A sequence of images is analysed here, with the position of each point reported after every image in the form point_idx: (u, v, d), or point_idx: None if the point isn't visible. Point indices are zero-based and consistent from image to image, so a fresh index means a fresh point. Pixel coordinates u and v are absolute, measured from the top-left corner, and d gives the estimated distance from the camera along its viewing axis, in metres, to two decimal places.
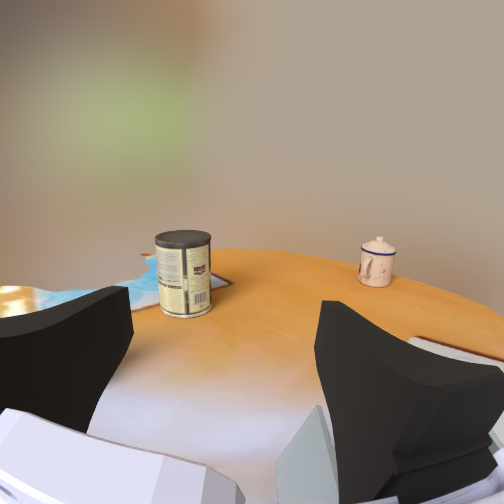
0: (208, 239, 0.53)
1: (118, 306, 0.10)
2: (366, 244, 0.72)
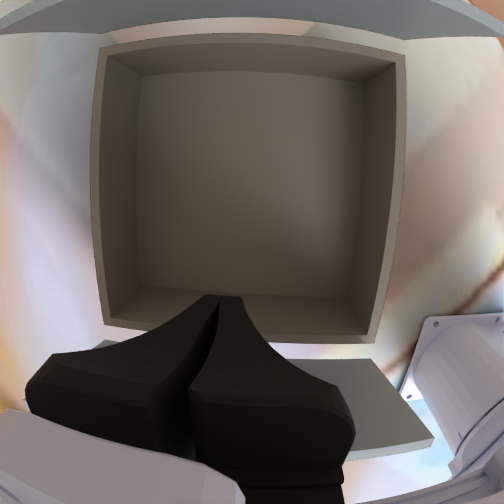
0: None
1: (219, 316, 0.10)
2: None
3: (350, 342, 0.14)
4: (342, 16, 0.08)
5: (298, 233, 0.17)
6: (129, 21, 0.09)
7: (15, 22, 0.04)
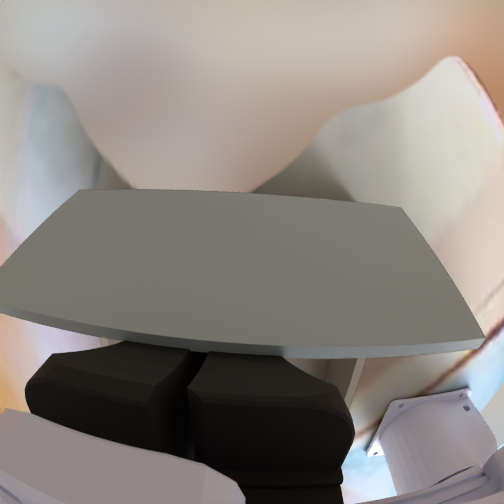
0: None
1: None
2: None
3: None
4: None
5: None
6: None
7: (3, 313, 0.06)
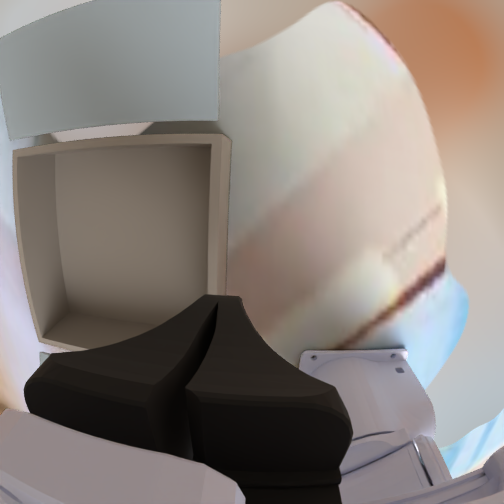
0: None
1: None
2: None
3: None
4: (147, 81, 0.12)
5: (170, 279, 0.21)
6: (27, 113, 0.13)
7: None
